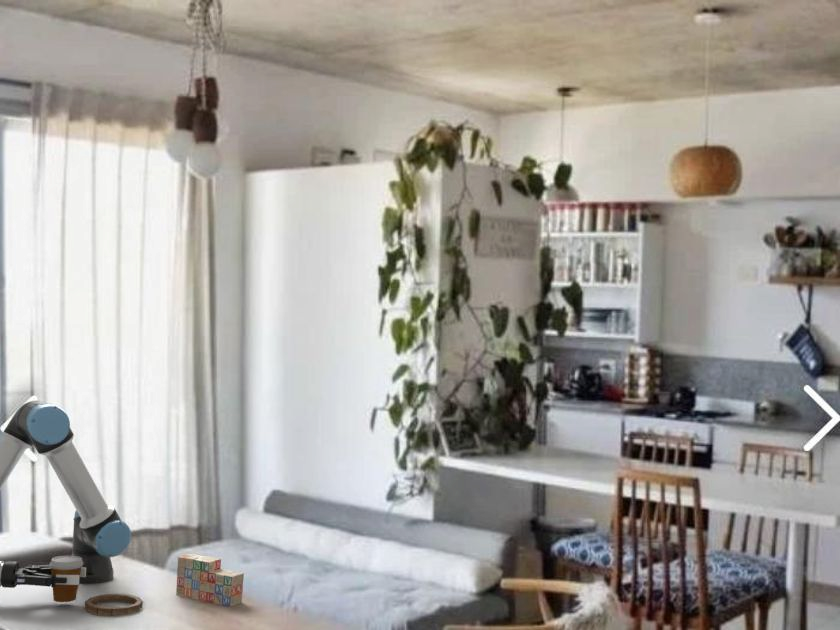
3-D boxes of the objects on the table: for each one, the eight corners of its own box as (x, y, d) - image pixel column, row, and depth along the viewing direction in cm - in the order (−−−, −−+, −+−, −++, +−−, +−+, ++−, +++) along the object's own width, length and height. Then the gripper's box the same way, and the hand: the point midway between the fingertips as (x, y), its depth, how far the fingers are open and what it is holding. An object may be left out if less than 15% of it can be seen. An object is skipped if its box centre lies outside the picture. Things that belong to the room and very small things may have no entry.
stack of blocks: (242, 603, 322) (244, 563, 322) (229, 607, 316) (232, 566, 317) (188, 591, 332) (190, 552, 332) (175, 595, 326) (177, 556, 326)
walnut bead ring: (116, 597, 319) (116, 591, 319) (152, 607, 311) (153, 601, 311) (73, 608, 306) (74, 601, 306) (111, 618, 297) (111, 611, 297)
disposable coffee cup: (70, 605, 302) (73, 564, 302) (41, 602, 304) (43, 560, 304) (87, 597, 312) (89, 557, 312) (58, 593, 314) (60, 554, 314)
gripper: (12, 577, 317) (89, 579, 319) (-9, 596, 296) (73, 598, 298) (14, 553, 317) (90, 555, 319) (-8, 570, 296) (74, 572, 298)
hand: (82, 576), depth 308 cm, fingers closed on disposable coffee cup, 8 cm apart
